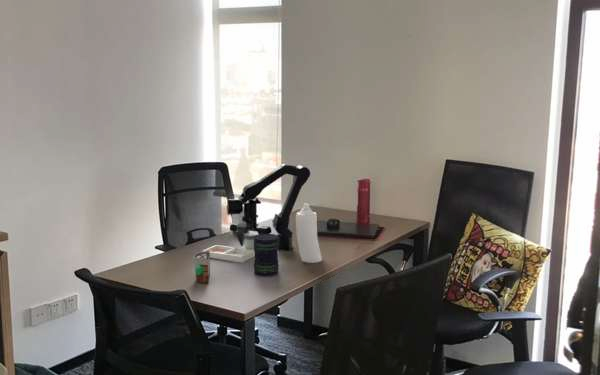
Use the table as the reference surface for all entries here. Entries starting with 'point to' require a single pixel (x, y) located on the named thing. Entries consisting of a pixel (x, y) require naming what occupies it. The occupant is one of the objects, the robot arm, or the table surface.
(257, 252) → the storage jar
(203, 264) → the food container
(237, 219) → the skincare box
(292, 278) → the table surface
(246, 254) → the sorting tray
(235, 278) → the table surface
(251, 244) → the grey mushroom
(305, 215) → the white plastic bottle
